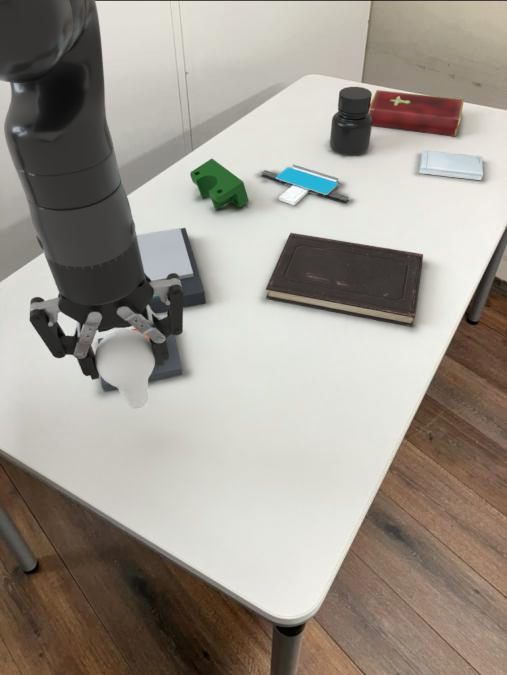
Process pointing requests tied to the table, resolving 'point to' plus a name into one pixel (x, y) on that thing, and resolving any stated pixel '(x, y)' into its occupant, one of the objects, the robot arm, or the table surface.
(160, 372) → the control unit
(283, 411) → the table surface
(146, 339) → the lightbulb
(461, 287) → the table surface
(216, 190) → the clamp
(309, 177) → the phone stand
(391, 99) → the hardcover book
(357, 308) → the hardcover book
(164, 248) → the scale
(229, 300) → the table surface
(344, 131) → the ink bottle
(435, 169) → the hard drive
